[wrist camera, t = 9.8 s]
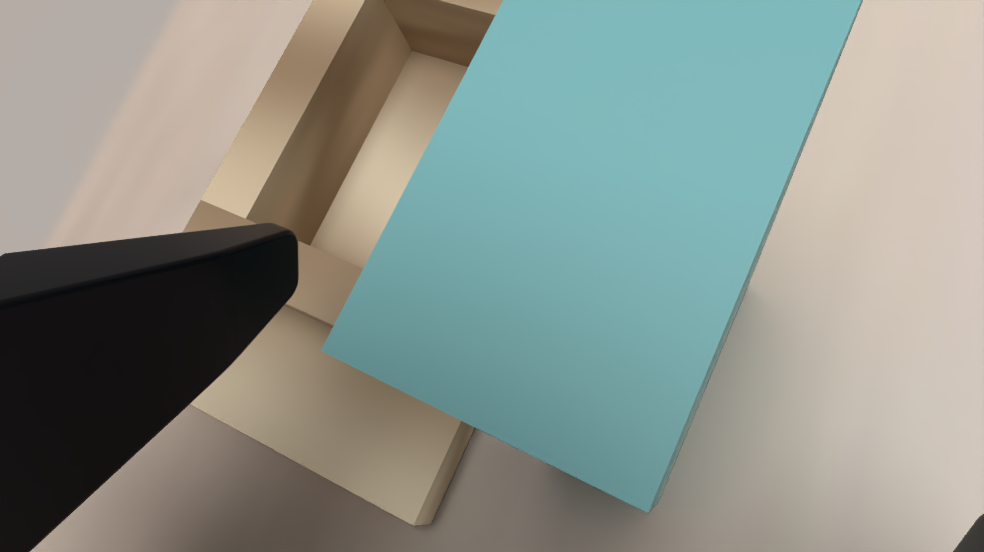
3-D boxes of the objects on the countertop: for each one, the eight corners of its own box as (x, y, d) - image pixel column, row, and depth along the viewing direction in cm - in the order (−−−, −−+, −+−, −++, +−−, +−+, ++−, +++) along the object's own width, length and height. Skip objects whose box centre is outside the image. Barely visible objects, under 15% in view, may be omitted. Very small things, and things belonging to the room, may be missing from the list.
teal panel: (658, 501, 15) (646, 512, 4) (548, 448, 15) (320, 350, 5) (748, 284, 15) (916, -132, 5) (639, 244, 16) (599, -186, 6)
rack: (431, 523, 15) (364, 531, 12) (189, 393, 18) (75, 368, 14) (729, -133, 19) (744, -276, 15) (493, -173, 21) (459, -305, 17)
